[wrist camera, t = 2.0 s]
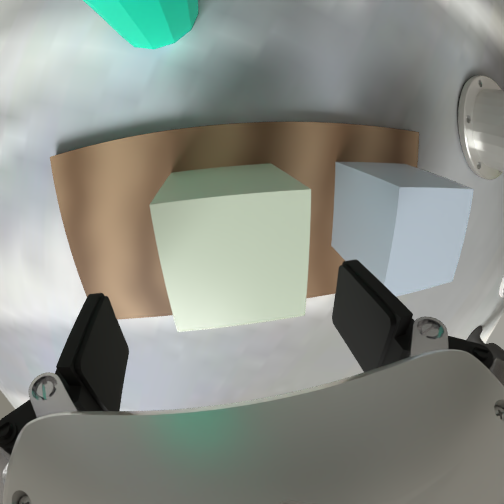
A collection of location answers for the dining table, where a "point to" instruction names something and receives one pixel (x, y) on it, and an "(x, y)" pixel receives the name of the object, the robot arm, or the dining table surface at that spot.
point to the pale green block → (233, 245)
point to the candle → (148, 19)
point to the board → (193, 158)
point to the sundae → (492, 347)
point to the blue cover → (400, 223)
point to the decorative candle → (501, 288)
